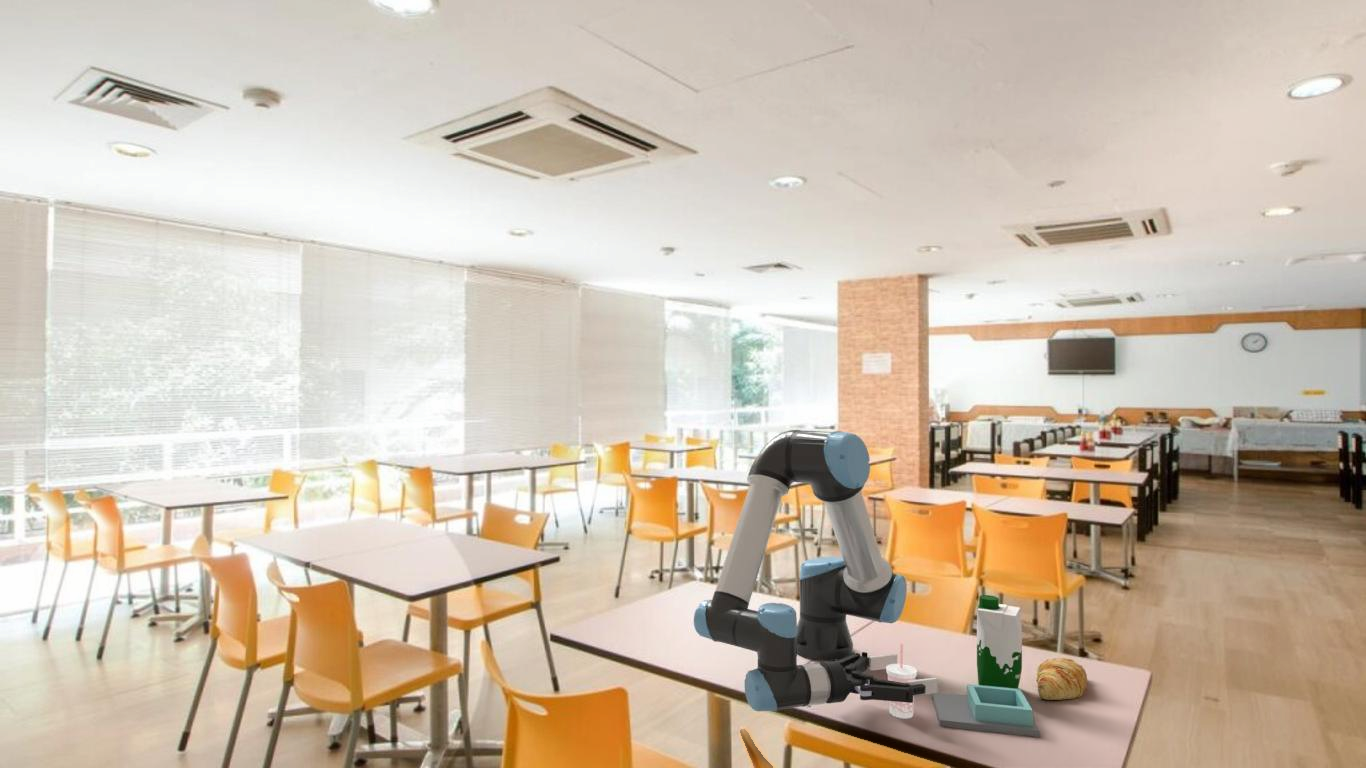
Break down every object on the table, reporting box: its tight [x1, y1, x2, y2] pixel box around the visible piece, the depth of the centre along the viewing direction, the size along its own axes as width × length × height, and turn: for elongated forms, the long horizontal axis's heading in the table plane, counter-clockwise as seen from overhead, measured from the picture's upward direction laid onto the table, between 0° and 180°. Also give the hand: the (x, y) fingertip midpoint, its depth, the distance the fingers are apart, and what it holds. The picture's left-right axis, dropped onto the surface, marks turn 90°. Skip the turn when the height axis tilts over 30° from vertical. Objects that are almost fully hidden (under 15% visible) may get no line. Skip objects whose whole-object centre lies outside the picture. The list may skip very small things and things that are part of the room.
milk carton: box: [976, 594, 1023, 689], centre depth 158 cm, size 9×9×20 cm
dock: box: [931, 683, 1041, 738], centre depth 145 cm, size 18×14×4 cm
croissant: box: [1036, 657, 1088, 701], centre depth 158 cm, size 21×10×8 cm, turn 133°
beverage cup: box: [885, 643, 918, 719], centre depth 146 cm, size 6×6×14 cm
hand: (915, 672), depth 147 cm, fingers open, 13 cm apart
